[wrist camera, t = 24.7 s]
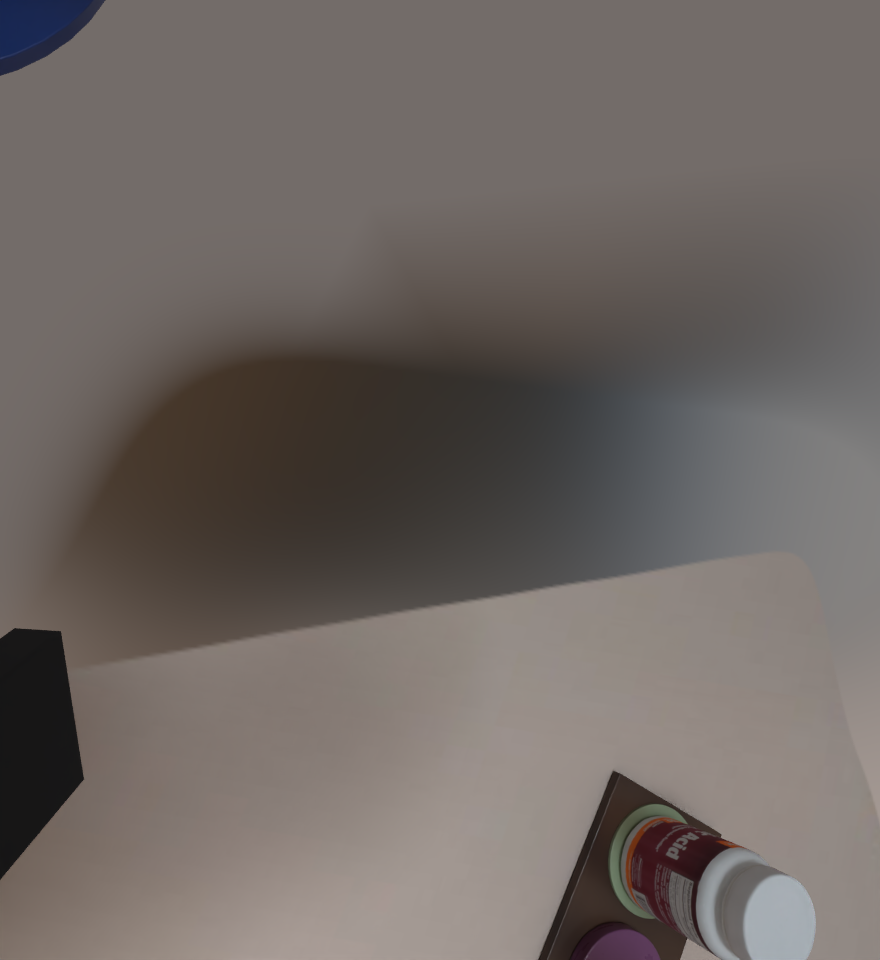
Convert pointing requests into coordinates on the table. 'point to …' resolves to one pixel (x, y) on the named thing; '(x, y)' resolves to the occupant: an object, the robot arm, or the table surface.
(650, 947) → the board
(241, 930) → the table surface
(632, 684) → the table surface
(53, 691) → the robot arm
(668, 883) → the pill bottle
